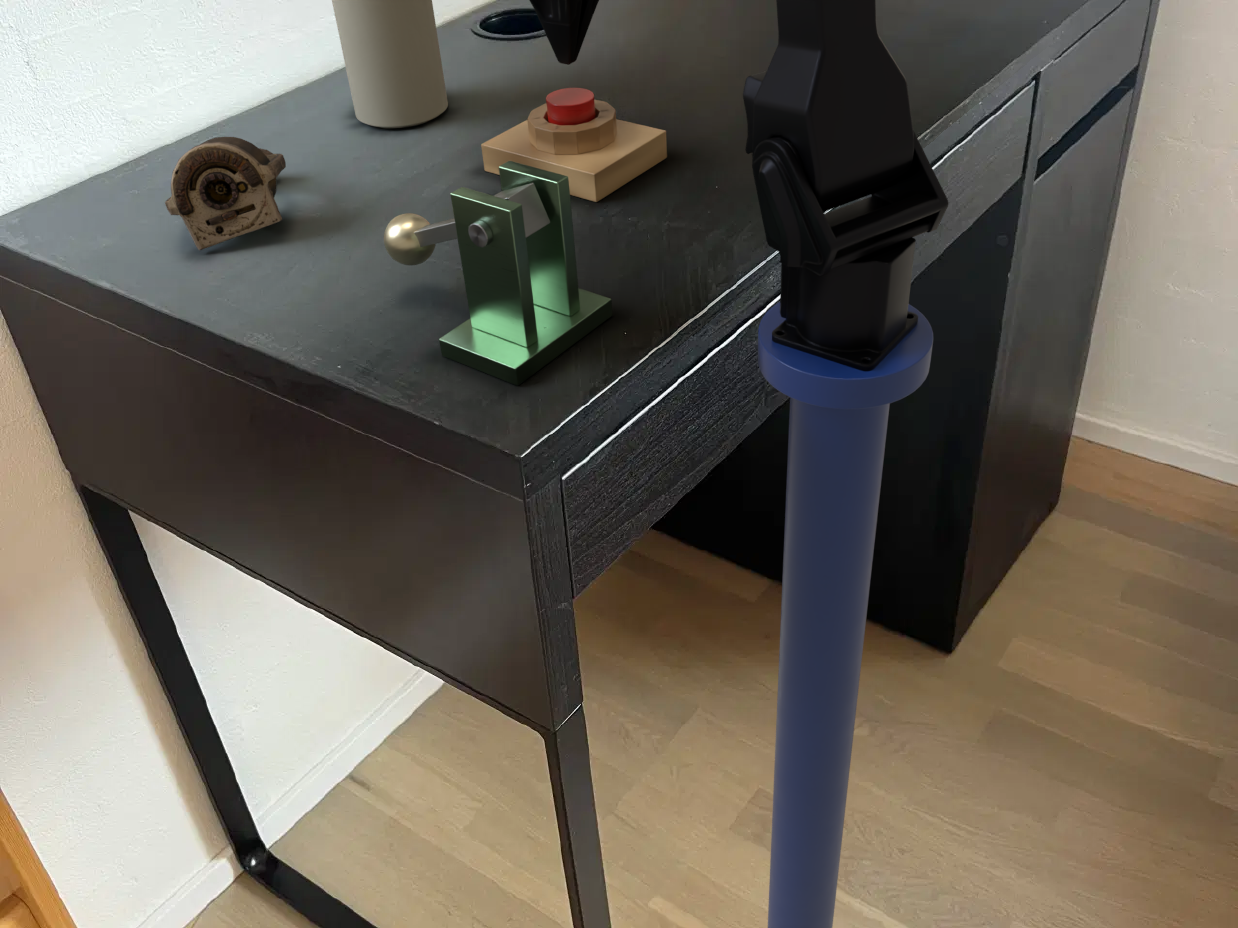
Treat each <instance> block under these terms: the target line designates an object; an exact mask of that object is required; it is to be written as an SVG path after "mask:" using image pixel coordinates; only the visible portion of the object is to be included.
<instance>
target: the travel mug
mask: <svg viewBox="0 0 1238 928" xmlns="http://www.w3.org/2000/svg"><path fill="white" fill-rule="evenodd" d="M331 3H332V8H333V12H334V17H335V22H336V27H337V33H338V36H339V40H340V41H339V43H340V46H341V47H340V48H341V51H342V56H343V61H344V65H345V70H346V76H347V81H348V86H349V90H350V94H351V99H352V104H353V109H354V114H355V117H356V119H357V120H358V121H359V122H360V123H363V124H365V125H368V126H371V127H374V128H381V129H403V128H410V127H415V126H419V125H422V124H425V123H428V122H430V121H432V120H434V119H436V118H437V117H439V116H440V115H442V114H443V113H444V112H445V111H446V110H447V108H448V106H449V101H448V95H447V94H448V93H447V88H446V81H445V75H444V70H443V68H444V67H443V63H442V57H441V50H440V49H441V48H440V43H439V37H438V29H437V23H436V19H435V11H434V10H435V9H434V4H433V0H331Z"/></svg>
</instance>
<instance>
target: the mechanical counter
mask: <svg viewBox="0 0 1238 928" xmlns="http://www.w3.org/2000/svg"><path fill="white" fill-rule="evenodd" d="M286 168H287V163H286V159H285V157H284V155H283V154H282V153H274V152H271V151H270V150H268V149H265V148H260V147H258V146H256V145H255V144H253V143H252V142H250V141H247V140H245V139H243V138H240V137H237V136H216V137H212V138H210V139H207V140H206V141H204V142H202V143H199V144H197V145H194V146H193V147H192V148H190V149H189V150H187V151H186V152H185V153H184V154H182V156H180V158H179V159H178V161H177V162H176V165H175V166H174V168H173V171H172V174H171V179H170V180H171V181H170V193H171V196H170V197H168V198H167V199H166V200H165V202H164V203H165V208H166V210H167V211H168V213H169V214H170V216H179V217H180V218H181V219H182V221H183V223H184V225H185V226H186V229H187V231H188V233H189V234H190V236H191V239H192V242H194V246H195V247H196V248H197V250H198V251H203V250H205V249H208V248H210V247H213V246H216V245H219V244H221V243H224V242H226V241H229V240H231V239H234V238H238V237H240V236H243V235H247V234H249V233H252V232H255V231H259V230H261V229H264V228H267V227H269V226H272V225H275V224H276V223H279V222H282V221H283V217H282V214H281V212H280V210H279V205H278V203H277V202H276V199H275V197H276V193H277V187H278V186H277V178H278V177H279V175H280V174H281V172H282V171H283V170H285V169H286Z"/></svg>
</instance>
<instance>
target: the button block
mask: <svg viewBox="0 0 1238 928" xmlns="http://www.w3.org/2000/svg"><path fill="white" fill-rule="evenodd" d="M594 100H595V114H596V118H595V119H593V120H592V121H590V122H587V123H583V124H578V125H556V124H552V123H549V122H548V114H547V104H546V102H545V103H544V104H541V105H539V106H538V107H536V108H534V109H532V110H531V111H530V113H529V114H528V117H527V119H526V120H524V121H522V122H521V123H518V124H516V125H515V126H513V127H511V128H509V129H507V130H505V131H503V132H502V133H500V134H498V135H496V136H494V137H492V138H490V139H488V140H486V141H485V142H483V143H481V145H480V146H481V147H480V148H481V154H482V161H483V169H484V172H487V173H490V174H494V175H498V176H500V174H499V166H501V165H502V164H504V163H506V162H508V161H513V162H517V163H520V164H524V165H528V166H531V167H535V168H539V169H543V170H546V171H550V172H554V173H557V174H561V175H565V176H568V179H569V190H570V196H573V197H576V198H581V199H584V200H587V201H590V202H594V203H598V202H599V201H601V200H602V199H604V198H605V197H607V196H609V195H610V194H612V193H613V192H615V191H617V190H618V189H621V187H623V186H624V185H626V184H627V183H629V182H631V181H632V180H634V179H635V178H638V177H639V176H640V175H642V174H643V173H645V172H646V171H648V170H650V169H651V168H653V167H654V166H656V165H658V164H659V163H661V162H662V161H664V160H665V159H667V158H668V149H667V147H668V146H667V144H668V143H667V130H664V129H660V128H657V127H651V126H648V125H644V124H639V123H635V122H630V121H626V120H622V119H617V111H616V108H614V107H613V106H612V105H611V104H610V103H608V102H607V101H603V100H598V99H595V98H594Z"/></svg>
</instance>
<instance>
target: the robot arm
mask: <svg viewBox="0 0 1238 928" xmlns="http://www.w3.org/2000/svg"><path fill="white" fill-rule="evenodd" d="M528 1H529V2H530V4H531V6H532V8H533V9H534V11H535V13H536V16H537V18H538V20H539V22H540V25H541V27H542V29H543V31H544V33H545V36H546V38H547V40H548V42H549V44H550V47H551V49H552V52H553V53H554V55H555V58H556V60H557V62H558V63H560V64H563V65H568V66H569V65H571V64H573V63H575V62H576V61H577V59H578V57H579V54H580V51H581V49H582V46H583V43H584V41H585V38H586V35H587V33H588V30H589V27H590V25H591V22H592V19H593V16H594V15H595V12H596V9H597V7H598V4H599V1H600V0H528ZM775 2H776V16H777V31H778V33H777V35H778V41H777V46H776V48H775V51H774V53H773V56H772V58H771V61H770V62H769V65H768V67H767V69H766V70H764V71H761V72H758V73H754V74H751V75H747V77H746V78H745V82H744V85H743V92H742V99H743V105H744V111H745V116H746V124H747V136H746V143H745V154H747V155H750V154H751V155H752V157H751V158H752V159H751V160H752V162H751V163H752V164H751V168H752V175H753V180H754V184H755V189H756V195H757V198H758V200H757V201H758V204H759V210H760V215H761V219H762V220H761V221H762V225H763V229H764V234H765V239H766V244H767V245H768V247H770V248H772V249H773V250H775V251H777V252H778V254H779V263H780V290H779V291H780V293H779V294H780V295H779V296H780V297H779V302H780V315H781V317H782V318H785V319H786V320H785V321H784V322H782V323H781V324H780V325H779V326H778V327H777V328H776V329H775V330H773V332H772V341H773V342H775V343H778V344H781V345H784V346H787V347H790V348H793V349H796V350H799V351H802V352H805V353H808V354H811V355H815V356H818V357H821V358H824V359H827V360H830V361H833V362H836V363H839V364H842V365H845V366H848V367H851V368H855V369H858V370H861V371H872V370H873V369H874V368H875V367H876V366H877V365H878V364H879V363H880V362H881V361H882V360H883V359H884V358H885V357H886V356H887V355H888V354H889V353H890V352H891V351H892V350H893V349H894V348H895V347H896V346H897V345H898V344H899V342H900V341H901V340H902V339H903V338H904V337H905V336H906V335H907V334H908V333H909V332H910V331H911V330H912V329H913V328H914V327H915V326H916V325H917V323H918V315H917V314H915V313H912V312H909V311H908V304H910V303H909V302H910V292H911V286H912V278H913V277H912V276H913V266H914V260H915V259H914V258H915V250H916V241H917V239H916V238H915V237H917V236H920V235H923V234H925V233H928V234H929V233H932V232H934V231H936V230H938V228H939V226H940V224H941V222H942V220H943V218H944V216H945V213H946V212H947V209H948V207H949V199H948V197H947V194H946V193H945V192H944V189H943V187H942V184H941V183H940V181H939V179H938V177H937V175H936V173H935V171H934V169H933V167H932V164H931V163H930V160H929V158H928V157H927V155H926V153H925V151H924V148H923V146H922V145H921V143H920V140H919V138H918V137H917V136H918V135H917V134H916V133H915V130H914V127H913V126H914V125H913V117H912V111H911V104H910V96H909V88H908V81H907V78H906V77H905V75H904V73H903V71H902V70H901V68H900V67H899V65H898V64H897V62H896V60H895V59H894V57H893V55H892V53H891V52H890V50H889V49H888V47H887V46H886V44H885V43H884V41H883V39H882V38H881V36H880V34H879V33H878V26H877V0H775ZM865 197H866V198H865ZM857 200H858V201H857ZM825 212H826V213H825Z"/></svg>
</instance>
